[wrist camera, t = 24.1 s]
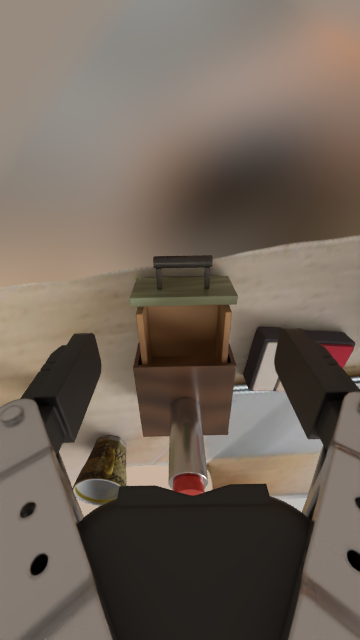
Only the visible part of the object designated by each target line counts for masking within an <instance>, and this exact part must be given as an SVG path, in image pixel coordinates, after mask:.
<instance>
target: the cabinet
mask: <svg viewBox="0 0 360 640" xmlns="http://www.w3.org/2000/svg"><path fill="white" fill-rule="evenodd" d="M133 370H134V377H135V384H136V390H137V397H138V404H139V411H140V418H141V424H142V431H143V437H153V436H170V407H171V404H172V402H173V401H175V400H176V399H178V398H182V397H190V398H193V399H195V400H197V401H198V403H199V404H200V409H201V419H202V429H203V435H228V427H229V419H230V411H231V403H232V395H233V387H234V379H235V371H236V363H235V360H234V357H233V354H232V351H231V347H230V344H229V347H228V357H227V363H205V364H161V365H142V360H141V352H140V343H138V348H137V353H136V357H135V362H134V366H133Z"/></svg>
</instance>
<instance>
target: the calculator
mask: <svg viewBox="0 0 360 640" xmlns="http://www.w3.org/2000/svg"><path fill="white" fill-rule="evenodd" d="M281 330H282V328H273V327H258V328H257V331H256V334H255V338H254V341H253V345H252V348H251V351H250V355H249V358H248V362H247V365H246V368H245V372H244V378H245V381H246V384H247V386H248V388H249V390H250V391H277V392H285V390H284V388H283V386H282V383H281V381H280V379H279V377H278V375H277V373H276V370H275V366H274V357H275V352H276V348H277V343H278V338H279V333H280V331H281ZM303 332H304V333H305V334H306V335H307V337H308V338H309V339H310V340H315V341H316V342H318V343H319V344H321V345H322V346H324V347H325V348H326V349H327V350H328V351H329V353H330V354H331V355H332V356H333V358H334V359H335V360H336V361H337V362H338V364H339V366H341V367H342V368H343V367H344V366H345V364H346V362H347V360H348V358H349V356H350V355H351V353H352V351H353V349H354V346H355V342H354V341H353V340H352V339H350V338H349V337H348V336H347V335H346V334H345V333H342V332H320V331H303Z"/></svg>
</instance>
